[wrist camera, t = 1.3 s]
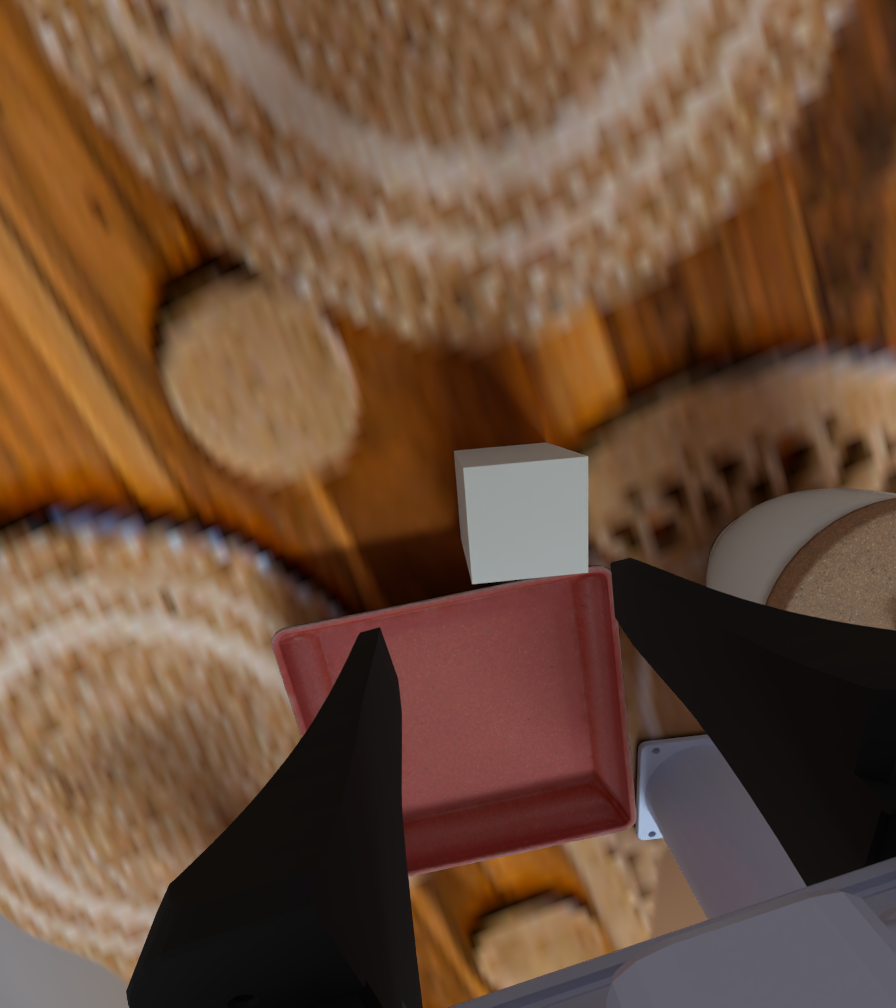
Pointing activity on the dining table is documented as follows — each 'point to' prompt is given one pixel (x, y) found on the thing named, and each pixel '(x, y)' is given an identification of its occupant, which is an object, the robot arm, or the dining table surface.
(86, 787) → the dining table surface
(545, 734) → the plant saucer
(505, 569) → the block
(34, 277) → the dining table surface
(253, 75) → the dining table surface
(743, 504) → the dining table surface
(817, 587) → the lidded jar
